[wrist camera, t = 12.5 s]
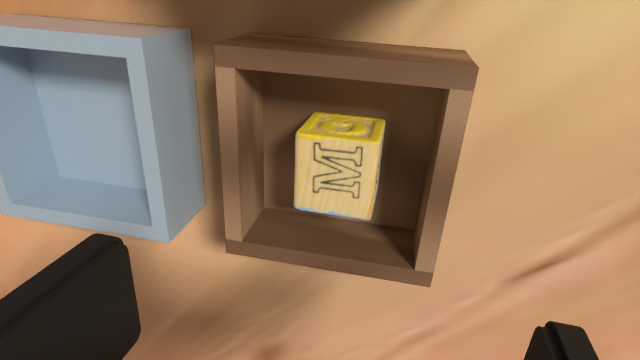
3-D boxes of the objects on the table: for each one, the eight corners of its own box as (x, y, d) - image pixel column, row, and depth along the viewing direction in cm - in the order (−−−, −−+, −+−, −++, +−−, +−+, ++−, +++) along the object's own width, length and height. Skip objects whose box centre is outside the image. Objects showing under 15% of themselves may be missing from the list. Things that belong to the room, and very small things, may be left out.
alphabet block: (309, 177, 18) (291, 211, 15) (311, 109, 17) (292, 133, 14) (378, 186, 18) (372, 223, 15) (386, 116, 16) (381, 143, 14)
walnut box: (426, 237, 19) (429, 287, 16) (254, 211, 20) (226, 252, 17) (464, 50, 15) (478, 67, 12) (250, 32, 16) (213, 44, 13)
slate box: (205, 204, 21) (169, 242, 18) (59, 181, 22) (1, 214, 19) (190, 28, 17) (141, 38, 14) (15, 13, 18) (-66, 20, 15)
